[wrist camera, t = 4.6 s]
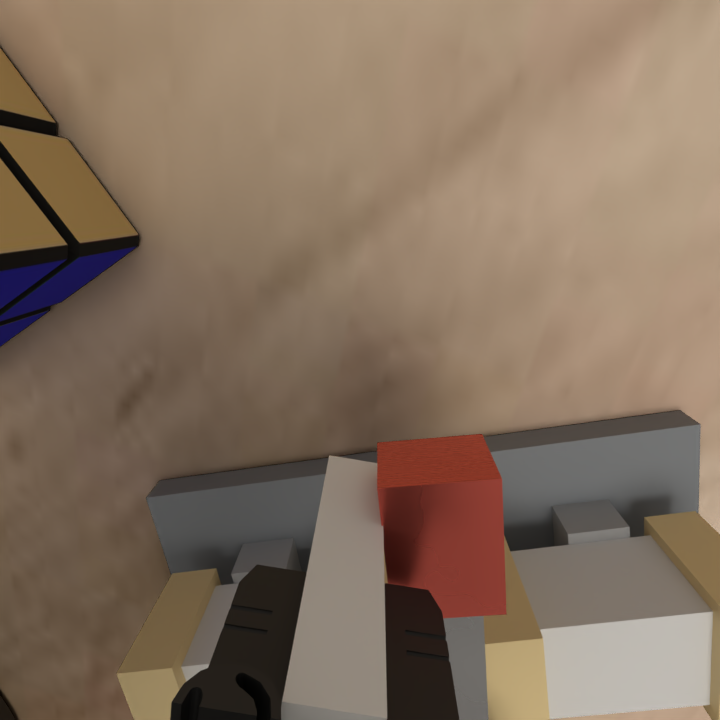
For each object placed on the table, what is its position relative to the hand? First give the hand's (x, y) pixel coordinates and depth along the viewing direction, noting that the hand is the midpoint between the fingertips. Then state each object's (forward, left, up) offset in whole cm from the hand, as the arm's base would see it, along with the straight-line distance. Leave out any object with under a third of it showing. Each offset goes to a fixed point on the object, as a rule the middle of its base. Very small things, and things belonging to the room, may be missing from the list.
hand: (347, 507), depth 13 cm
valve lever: (+2, -4, -1) cm, 5 cm away
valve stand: (+2, -9, -10) cm, 14 cm away
